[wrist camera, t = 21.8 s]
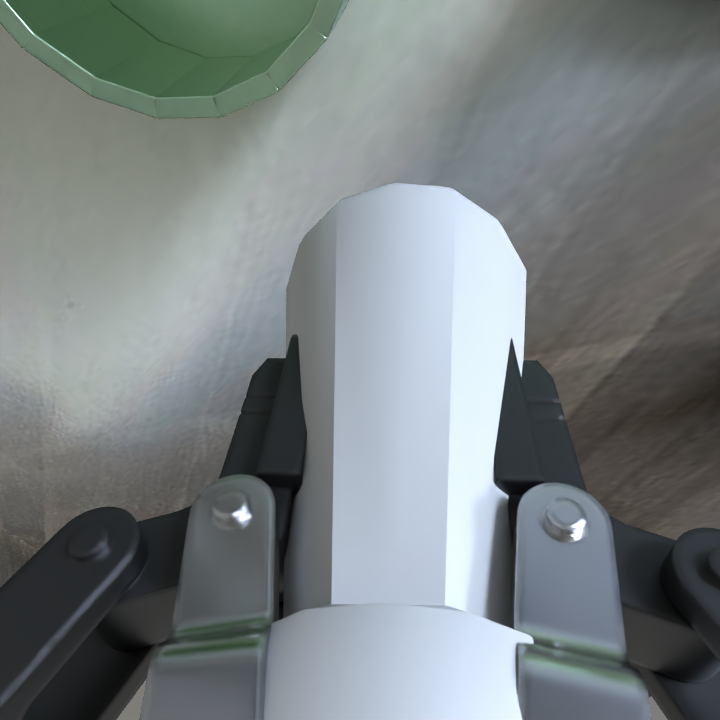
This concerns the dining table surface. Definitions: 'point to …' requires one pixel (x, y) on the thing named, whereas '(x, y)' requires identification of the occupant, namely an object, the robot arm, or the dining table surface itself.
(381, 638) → the salt shaker
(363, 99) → the dining table surface
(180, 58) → the pot
